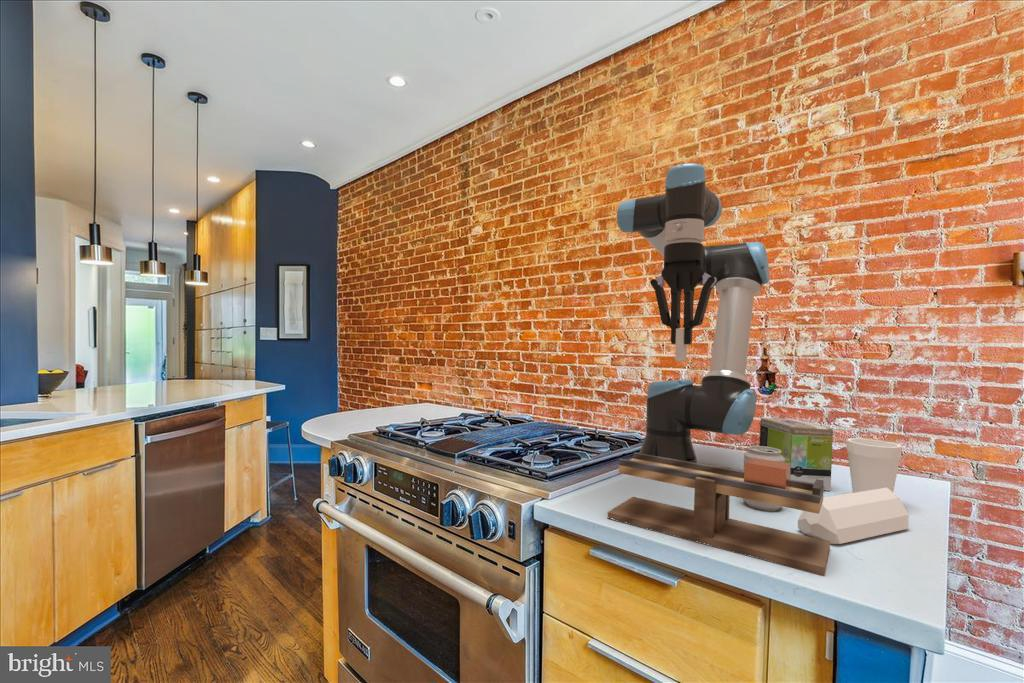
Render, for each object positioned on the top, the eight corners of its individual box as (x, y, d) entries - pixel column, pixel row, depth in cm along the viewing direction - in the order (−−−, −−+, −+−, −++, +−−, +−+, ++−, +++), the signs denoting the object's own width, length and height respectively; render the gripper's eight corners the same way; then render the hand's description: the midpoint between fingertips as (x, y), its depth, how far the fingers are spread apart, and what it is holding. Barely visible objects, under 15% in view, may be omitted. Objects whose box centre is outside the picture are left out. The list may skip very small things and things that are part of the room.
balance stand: (607, 518, 90) (609, 462, 90) (632, 502, 100) (634, 451, 100) (824, 575, 70) (826, 503, 70) (829, 548, 80) (831, 484, 79)
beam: (618, 472, 91) (619, 454, 91) (634, 464, 98) (635, 447, 98) (819, 513, 72) (819, 490, 72) (823, 500, 78) (823, 479, 78)
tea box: (832, 492, 112) (834, 428, 112) (788, 490, 112) (791, 426, 112) (795, 474, 127) (797, 417, 127) (756, 472, 127) (758, 416, 127)
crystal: (843, 530, 78) (928, 512, 88) (807, 496, 84) (890, 483, 93) (819, 560, 81) (903, 540, 91) (786, 525, 87) (868, 510, 97)
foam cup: (850, 493, 111) (852, 436, 111) (902, 503, 104) (904, 443, 104) (841, 502, 104) (842, 441, 104) (895, 514, 98) (897, 449, 97)
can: (789, 514, 96) (791, 453, 96) (748, 510, 97) (750, 450, 97) (776, 501, 103) (778, 445, 103) (738, 498, 104) (740, 443, 104)
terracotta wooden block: (743, 486, 79) (744, 462, 79) (749, 480, 83) (750, 457, 83) (785, 494, 76) (786, 469, 76) (789, 487, 80) (790, 463, 80)
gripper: (645, 244, 98) (643, 359, 99) (713, 237, 91) (710, 363, 91) (657, 249, 105) (655, 358, 105) (722, 244, 97) (719, 361, 97)
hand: (680, 360), depth 98 cm, fingers closed
